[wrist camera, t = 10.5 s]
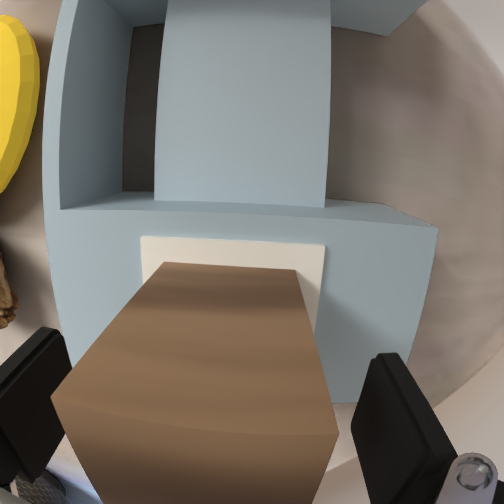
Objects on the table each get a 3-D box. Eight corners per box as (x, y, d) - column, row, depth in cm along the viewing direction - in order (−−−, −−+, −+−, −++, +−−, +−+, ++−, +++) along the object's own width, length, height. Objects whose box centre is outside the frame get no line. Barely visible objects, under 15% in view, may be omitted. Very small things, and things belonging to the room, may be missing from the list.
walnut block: (164, 261, 12) (50, 396, 4) (295, 269, 12) (338, 433, 4) (170, 366, 14) (112, 517, 6) (282, 376, 13) (294, 540, 6)
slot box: (131, -27, 14) (87, -80, 7) (381, -21, 14) (422, -76, 7) (119, 320, 21) (71, 380, 14) (361, 334, 21) (395, 403, 14)
